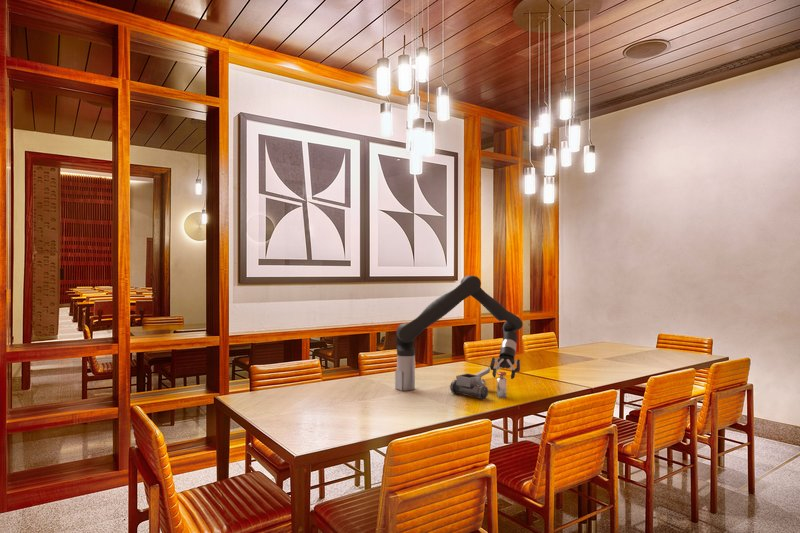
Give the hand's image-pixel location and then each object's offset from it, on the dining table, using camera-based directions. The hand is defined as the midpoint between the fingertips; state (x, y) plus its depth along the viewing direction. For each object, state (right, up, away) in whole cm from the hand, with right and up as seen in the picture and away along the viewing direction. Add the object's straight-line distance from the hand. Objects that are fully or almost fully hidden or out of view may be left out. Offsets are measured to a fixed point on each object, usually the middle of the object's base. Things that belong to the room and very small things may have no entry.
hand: (503, 377), depth 238 cm
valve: (-1, -9, -3) cm, 9 cm away
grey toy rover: (-17, -9, -1) cm, 19 cm away
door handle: (-12, -10, +19) cm, 24 cm away
